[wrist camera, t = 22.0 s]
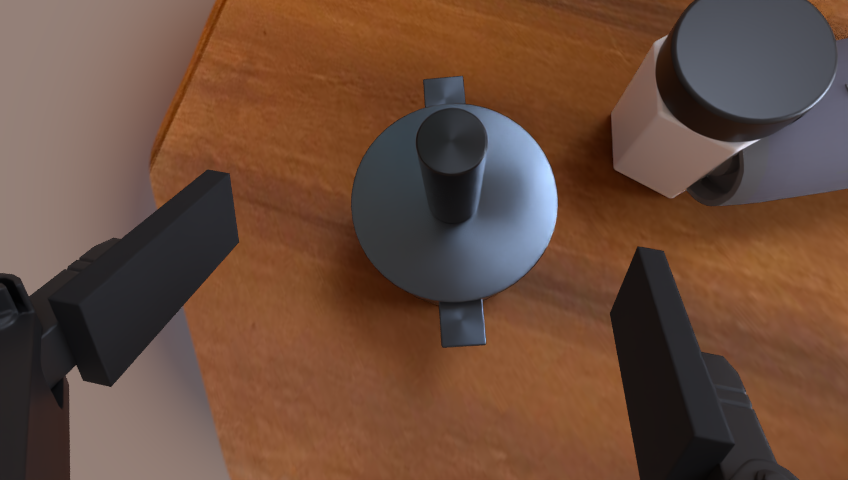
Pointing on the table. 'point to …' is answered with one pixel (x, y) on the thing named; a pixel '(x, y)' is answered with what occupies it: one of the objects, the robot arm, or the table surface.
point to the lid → (454, 203)
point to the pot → (465, 319)
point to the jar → (720, 88)
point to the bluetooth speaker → (789, 155)
